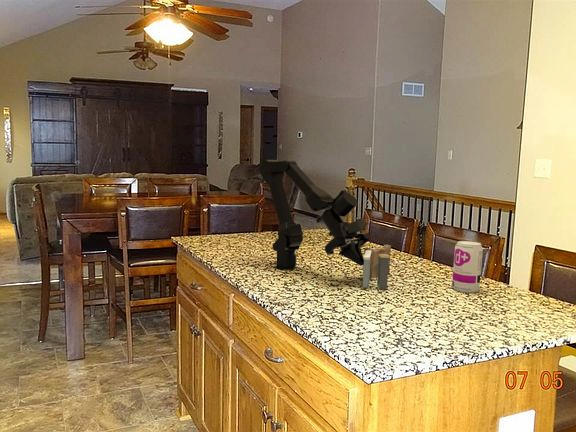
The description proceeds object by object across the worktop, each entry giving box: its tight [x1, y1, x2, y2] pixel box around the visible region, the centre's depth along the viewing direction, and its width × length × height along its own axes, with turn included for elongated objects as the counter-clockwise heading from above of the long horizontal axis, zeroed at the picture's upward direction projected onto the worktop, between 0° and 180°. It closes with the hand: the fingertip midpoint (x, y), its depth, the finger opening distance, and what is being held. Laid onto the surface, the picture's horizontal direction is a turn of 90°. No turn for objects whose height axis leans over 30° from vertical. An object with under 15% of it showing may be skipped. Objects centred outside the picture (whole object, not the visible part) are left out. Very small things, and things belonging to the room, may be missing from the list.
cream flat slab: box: [361, 250, 371, 289], centre depth 170 cm, size 12×2×10 cm, turn 169°
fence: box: [362, 244, 392, 281], centre depth 182 cm, size 14×3×10 cm, turn 138°
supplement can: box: [451, 240, 484, 294], centre depth 168 cm, size 8×8×15 cm
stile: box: [376, 254, 391, 290], centre depth 166 cm, size 3×3×11 cm
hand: (362, 264), depth 169 cm, fingers closed
